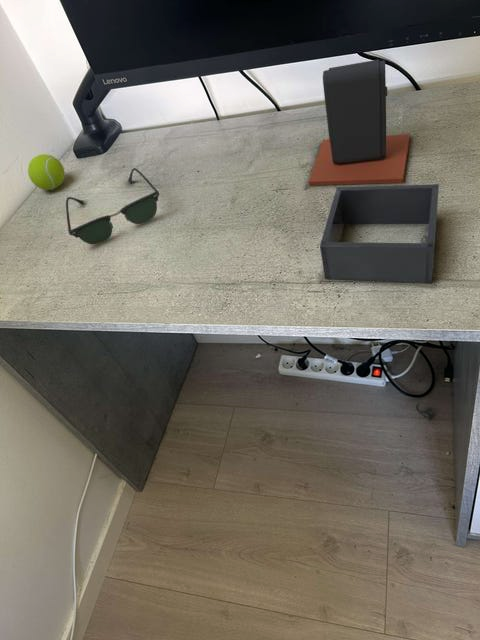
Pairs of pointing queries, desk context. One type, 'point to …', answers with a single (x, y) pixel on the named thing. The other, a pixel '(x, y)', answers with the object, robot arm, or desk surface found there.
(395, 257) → the grey open bin
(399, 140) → the mat
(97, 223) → the sunglasses
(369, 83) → the card reader
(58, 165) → the tennis ball
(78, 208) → the desk surface
